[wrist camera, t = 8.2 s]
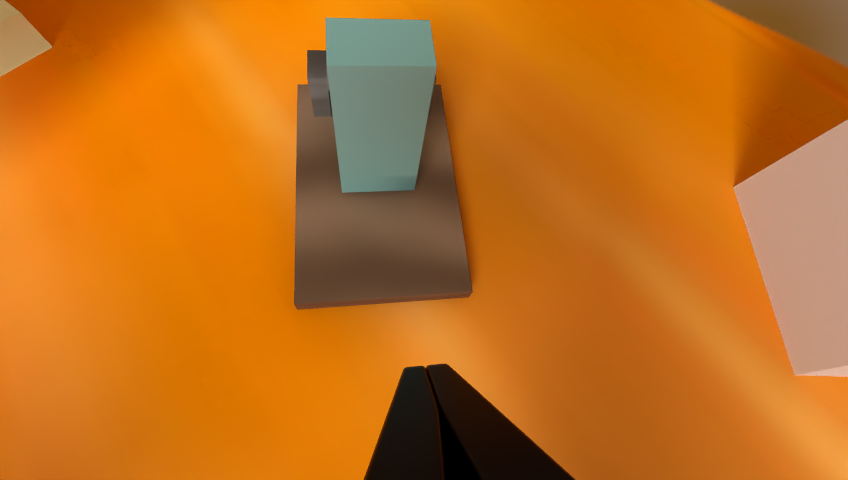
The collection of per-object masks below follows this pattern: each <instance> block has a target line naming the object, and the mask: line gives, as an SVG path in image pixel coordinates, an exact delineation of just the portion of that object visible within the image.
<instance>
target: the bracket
mask: <svg viewBox="0 0 848 480" xmlns="http://www.w3.org/2000/svg"><path fill="white" fill-rule="evenodd" d="M307 79H308V84H309V85H298V97H297V162H296V227H295V292H294V305H295V306H296V308H297V309H311V308H325V307H339V306H352V305H366V304H380V303H394V302H408V301H422V300H436V299H450V298H464V297H469V296H470V294H471V293H472V285H471V279H470V272H469V266H468V259H467V253H466V246H465V240H464V234H463V227H462V221H461V214H460V208H459V201H458V195H457V189H456V182H455V176H454V169H453V163H452V156H451V150H450V143H449V137H448V131H447V124H446V118H445V111H444V105H443V98H442V92H441V85H435V83H436V74H435V79H434V85H433V90H432V96H431V101H430V107H429V112H428V118H427V123H426V129H425V135H424V140H423V146H422V151H421V157H420V162H419V168H418V173H417V179H416V184H415V190H405V191H376V192H346V193H342V188H341V179H340V171H339V163H338V155H337V147H336V138H335V130H334V122H333V114H332V106H331V97H330V89H329V81H328V73H327V60H326V51H320V50H307Z"/></svg>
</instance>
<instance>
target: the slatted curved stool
mask: <svg viewBox="0 0 848 480" xmlns="http://www.w3.org/2000/svg"><path fill="white" fill-rule="evenodd" d="M50 48H52V46H51V44H50V43H49V42H48V41H47V40H46V39H45V38H44V37H43V36H42V35H41V34H40V33H39V32H38V31H37V30H36V29H35V28H34V27H33V26H32V25H31V23H30V22H29V21H28V20H27V19H26V18H25V17H24V16H23V15H22V14H21V13H20V12H19V11H18V10H17V9H15V8H14V7H13V6H12V5H10V4H9V3H8V2H6V1H5V0H0V77H1V76H3V75H4V74H6V73H8V72H10V71H11V70H13V69H15V68H17V67H19V66H20V65H22V64H24V63H26V62H27V61H29V60H31V59H33V58H34V57H36V56H38V55H40V54H42V53H43V52H45V51H47V50H49V49H50Z"/></svg>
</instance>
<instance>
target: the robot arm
mask: <svg viewBox="0 0 848 480" xmlns="http://www.w3.org/2000/svg"><path fill="white" fill-rule="evenodd" d="M364 480H575V479H574V478H573V477H572V476H571V475H570V474H569V473H568V472H566V471H565V470H564V469H563V468H562V467H561V466H560V465H559V464H558V463H556V462H555V461H554V460H553V459H552V458H551V457H550V456H549V455H548V454H546V453H545V452H544V451H543V450H542V449H541V448H540V447H539V446H538V445H536V444H535V443H534V442H533V441H532V440H531V439H530V438H529V437H528V436H526V435H525V434H524V433H523V432H522V431H521V430H520V429H519V428H518V427H517V426H515V425H514V424H513V423H512V422H511V421H510V420H509V419H508V418H507V417H505V416H504V415H503V414H502V413H501V412H500V411H499V410H498V409H497V408H495V407H494V406H493V405H492V404H491V403H490V402H489V401H488V400H487V399H485V398H484V397H483V396H482V395H481V394H480V393H479V392H478V391H477V390H475V389H474V388H473V387H472V386H471V385H470V384H469V383H468V382H467V381H466V380H464V379H463V378H462V377H461V376H460V375H459V374H458V373H457V372H456V371H454V370H453V369H452V368H451V367H450V366H449V365H447V364H436V365H428V366H427V367H426V368H425V367H424V366H415V367H406V368H404V370H403V372H402V375H401V378H400V380H399V383H398V386H397V389H396V391H395V394H394V397H393V400H392V403H391V405H390V408H389V411H388V414H387V416H386V419H385V422H384V425H383V427H382V430H381V433H380V436H379V439H378V441H377V444H376V447H375V450H374V452H373V455H372V458H371V461H370V464H369V466H368V469H367V472H366V475H365V477H364Z"/></svg>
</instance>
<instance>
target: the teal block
mask: <svg viewBox="0 0 848 480" xmlns="http://www.w3.org/2000/svg"><path fill="white" fill-rule="evenodd" d="M326 60H327V73H328V81H329V89H330V97H331V106H332V114H333V122H334V130H335V138H336V147H337V155H338V163H339V171H340V179H341V188H342V193H346V192H376V191H405V190H415V184H416V179H417V173H418V168H419V162H420V157H421V151H422V146H423V140H424V135H425V129H426V123H427V118H428V112H429V107H430V101H431V96H432V90H433V85H434V79H435V74H436V68H437V64H436V58H435V51H434V45H433V38H432V32H431V25H430V20H396V19H355V18H326Z"/></svg>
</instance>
